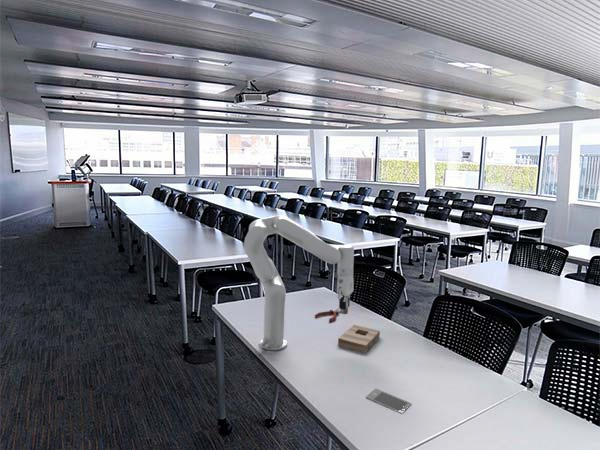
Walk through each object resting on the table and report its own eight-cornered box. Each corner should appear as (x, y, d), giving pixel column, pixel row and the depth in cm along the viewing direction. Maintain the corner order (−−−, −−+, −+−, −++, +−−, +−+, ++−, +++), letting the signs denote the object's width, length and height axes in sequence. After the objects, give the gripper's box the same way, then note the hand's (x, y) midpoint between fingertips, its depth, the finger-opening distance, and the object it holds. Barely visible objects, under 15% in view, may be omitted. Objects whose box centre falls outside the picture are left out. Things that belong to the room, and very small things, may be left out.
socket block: (365, 352, 189) (365, 345, 188) (338, 345, 196) (338, 338, 195) (379, 337, 206) (379, 330, 206) (353, 330, 213) (354, 324, 212)
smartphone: (411, 404, 150) (412, 403, 150) (402, 415, 144) (402, 413, 143) (375, 389, 159) (375, 387, 159) (365, 398, 153) (365, 396, 153)
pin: (346, 314, 194) (346, 296, 193) (339, 313, 196) (339, 295, 194) (349, 312, 197) (349, 294, 196) (342, 310, 199) (342, 293, 198)
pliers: (349, 313, 239) (349, 309, 238) (330, 323, 223) (331, 319, 222) (332, 309, 245) (332, 304, 245) (313, 318, 229) (313, 314, 229)
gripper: (345, 276, 184) (344, 314, 187) (359, 268, 198) (358, 303, 201) (330, 273, 188) (329, 311, 191) (345, 265, 202) (344, 301, 205)
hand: (344, 307), depth 196 cm, fingers closed on pin, 3 cm apart
